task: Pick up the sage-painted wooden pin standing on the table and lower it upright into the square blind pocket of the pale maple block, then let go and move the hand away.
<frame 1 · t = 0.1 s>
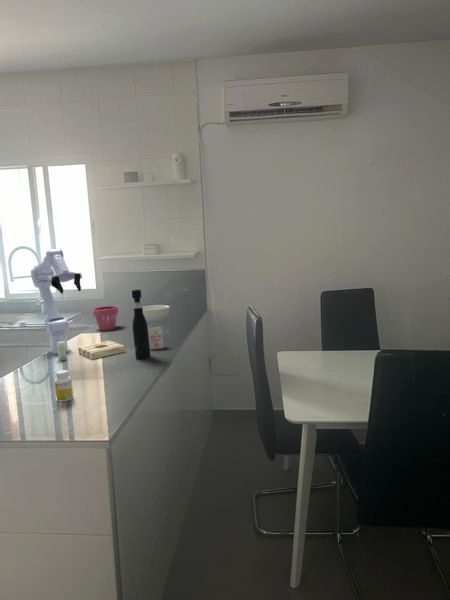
hand: (71, 290, 202), 32 cm above the countertop, tool tilted 50°, fingers open, 7 cm apart
pocket block: (101, 352, 220), on the countertop
plant pot: (107, 329, 277), on the countertop
white pink printed box: (156, 348, 221), on the countertop
wine bottle: (143, 358, 206), on the countertop
supplement bottle: (65, 399, 160), on the countertop
pin: (62, 359, 214), on the countertop
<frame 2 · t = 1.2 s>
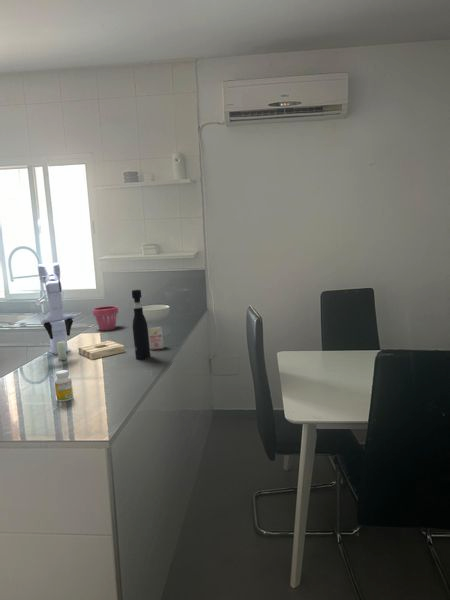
hand: (60, 337, 212), 10 cm above the countertop, tool pointing down, fingers open, 7 cm apart
nothing on the countertop moved.
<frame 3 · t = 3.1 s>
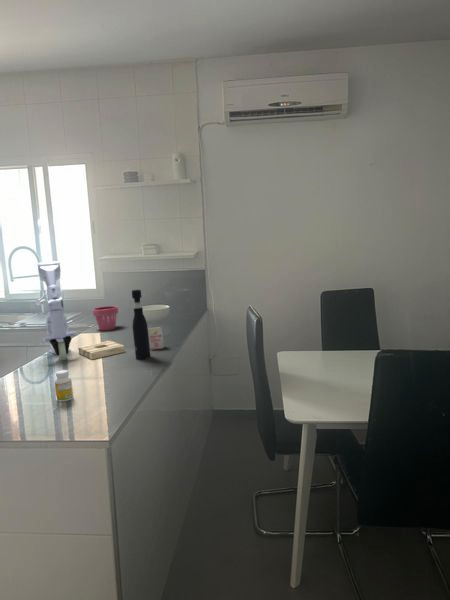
hand: (62, 354, 213), 2 cm above the countertop, tool pointing down, fingers closed on pin, 4 cm apart
pin: (62, 359, 214), on the countertop, touching gripper
everything else where it was.
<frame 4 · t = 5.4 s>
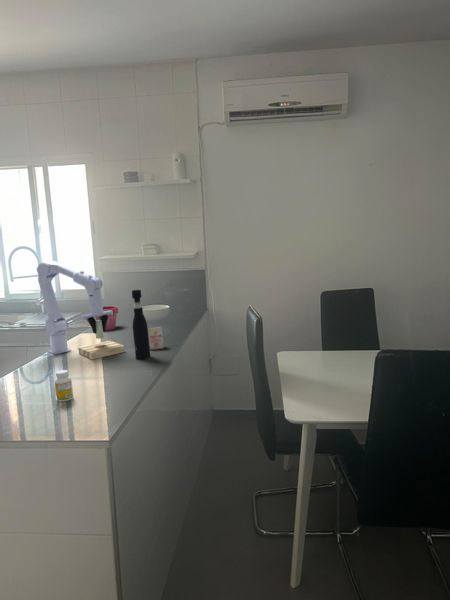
hand: (99, 332, 219), 10 cm above the countertop, tool pointing down, fingers closed on pin, 4 cm apart
pin: (99, 337, 219), point 7 cm above the countertop, touching gripper
everything else where it was.
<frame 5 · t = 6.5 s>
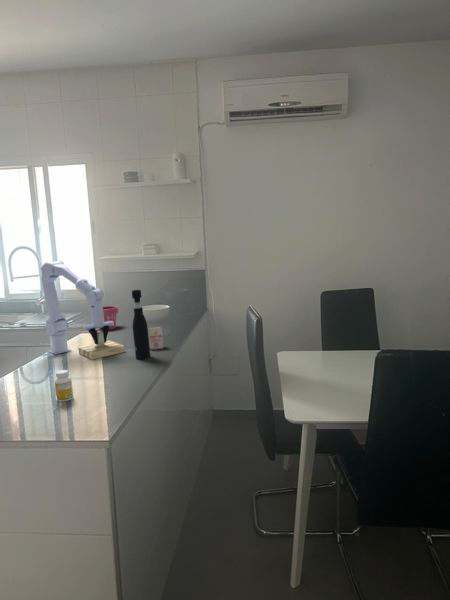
hand: (100, 343, 220), 5 cm above the countertop, tool pointing down, fingers closed on pin, 4 cm apart
pin: (101, 348, 220), point 2 cm above the countertop, touching gripper
everything else where it was.
when the fingers open (3 cm above the countertop, at t = 7.6 s): pin stays where it is, resting on pocket block.
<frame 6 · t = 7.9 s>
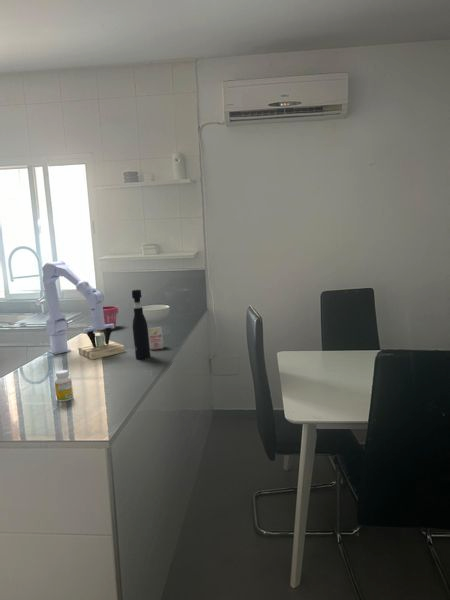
hand: (100, 345, 220), 3 cm above the countertop, tool pointing down, fingers open, 6 cm apart
pin: (101, 352, 220), resting on pocket block
everything else where it was.
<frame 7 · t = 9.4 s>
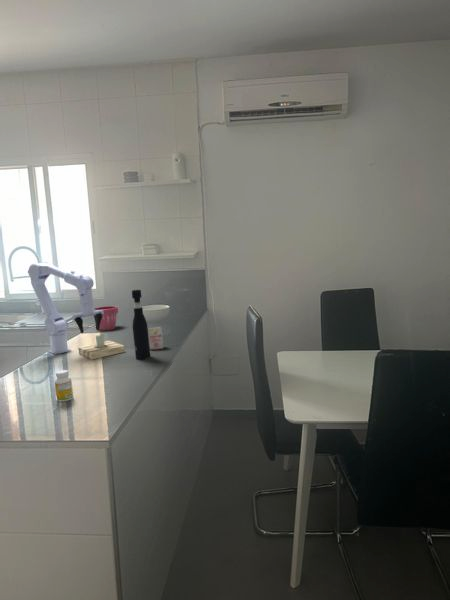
hand: (89, 331, 221), 10 cm above the countertop, tool pointing down, fingers open, 7 cm apart
nothing on the countertop moved.
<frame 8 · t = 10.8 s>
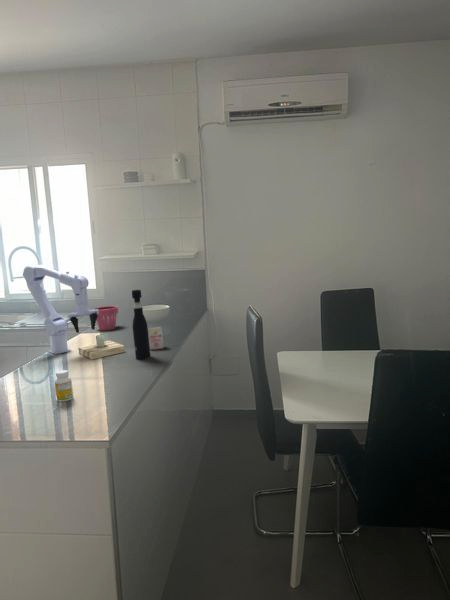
hand: (85, 330, 222), 10 cm above the countertop, tool pointing down, fingers open, 7 cm apart
nothing on the countertop moved.
at the end: pin 0.0 cm off-centre on the pocket block, point 0.2 cm above the pocket block's base; pin tilted 0°; the gripper is holding nothing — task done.
